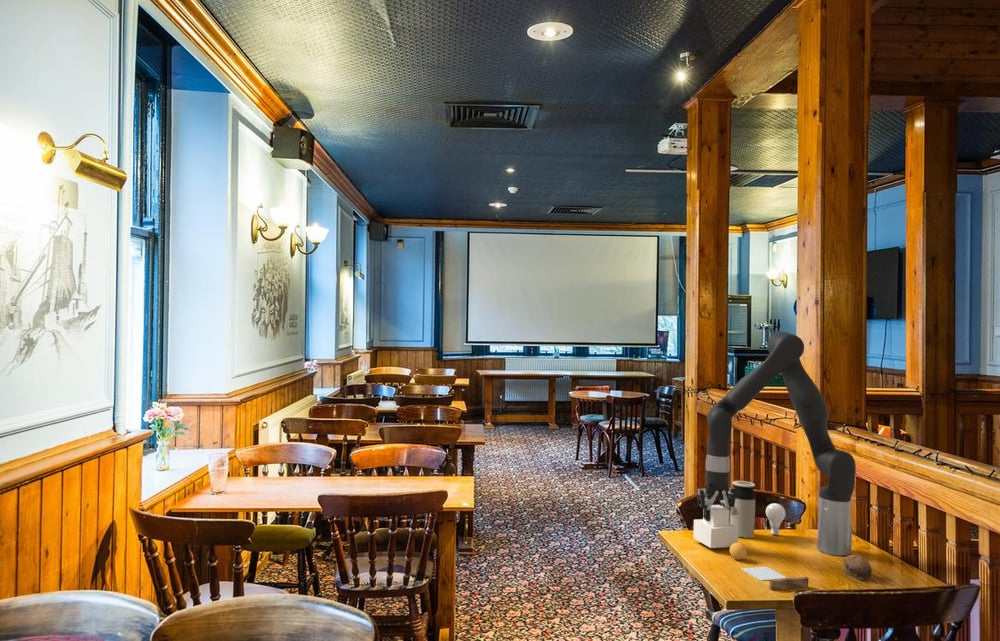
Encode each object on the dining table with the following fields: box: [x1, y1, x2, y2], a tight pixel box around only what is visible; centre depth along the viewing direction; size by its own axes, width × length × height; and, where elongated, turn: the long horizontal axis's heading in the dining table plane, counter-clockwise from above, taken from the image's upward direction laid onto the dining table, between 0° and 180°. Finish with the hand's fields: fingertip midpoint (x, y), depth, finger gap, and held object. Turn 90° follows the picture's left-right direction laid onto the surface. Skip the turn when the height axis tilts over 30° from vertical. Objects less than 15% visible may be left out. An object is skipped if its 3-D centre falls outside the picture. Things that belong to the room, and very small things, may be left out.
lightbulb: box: [765, 503, 786, 536], centre depth 230 cm, size 6×6×11 cm
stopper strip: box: [769, 576, 810, 591], centre depth 182 cm, size 12×1×2 cm, turn 106°
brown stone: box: [843, 554, 873, 581], centre depth 193 cm, size 8×8×6 cm
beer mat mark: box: [740, 566, 788, 582], centre depth 192 cm, size 9×9×1 cm
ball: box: [729, 542, 748, 561], centre depth 203 cm, size 5×5×5 cm
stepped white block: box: [692, 504, 739, 549], centre depth 215 cm, size 10×10×11 cm
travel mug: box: [729, 480, 756, 539], centre depth 228 cm, size 8×8×18 cm
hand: (715, 519), depth 215 cm, fingers closed on stepped white block, 5 cm apart
